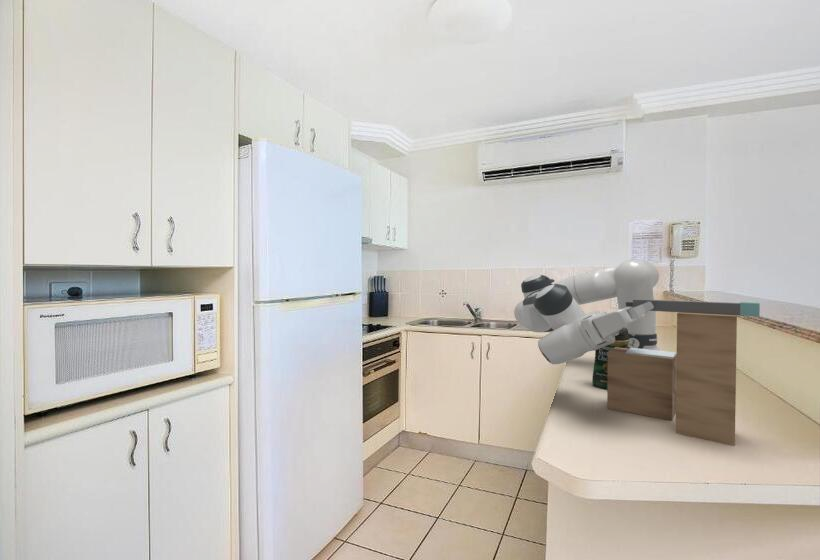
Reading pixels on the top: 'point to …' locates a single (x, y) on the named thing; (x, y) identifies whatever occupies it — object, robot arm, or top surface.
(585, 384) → the top surface
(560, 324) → the robot arm
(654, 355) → the notepad
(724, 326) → the walnut stand
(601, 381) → the coffee jar
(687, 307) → the marker
